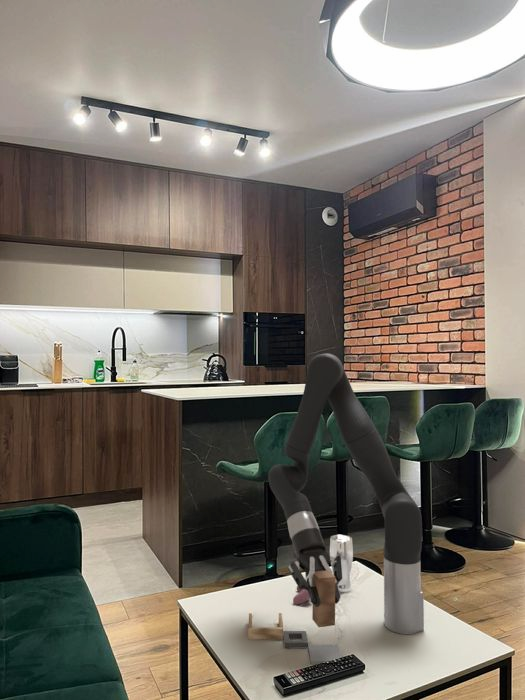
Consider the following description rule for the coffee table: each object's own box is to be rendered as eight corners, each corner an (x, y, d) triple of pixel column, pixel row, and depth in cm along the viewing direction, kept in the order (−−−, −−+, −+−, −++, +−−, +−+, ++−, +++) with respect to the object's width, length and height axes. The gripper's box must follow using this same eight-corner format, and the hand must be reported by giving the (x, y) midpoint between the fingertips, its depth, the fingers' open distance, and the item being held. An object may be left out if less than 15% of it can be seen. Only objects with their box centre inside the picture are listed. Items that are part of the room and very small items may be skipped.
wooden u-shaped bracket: (281, 622, 134) (281, 613, 135) (283, 639, 126) (283, 628, 126) (248, 623, 134) (248, 613, 134) (248, 639, 126) (248, 629, 126)
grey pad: (337, 647, 123) (337, 644, 123) (342, 663, 116) (342, 661, 116) (308, 647, 123) (308, 644, 123) (311, 664, 116) (311, 661, 116)
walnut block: (328, 617, 122) (328, 570, 122) (335, 625, 118) (335, 576, 119) (312, 619, 121) (312, 571, 121) (318, 627, 117) (319, 578, 117)
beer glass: (356, 586, 157) (356, 537, 157) (347, 595, 151) (347, 543, 152) (335, 581, 161) (335, 533, 161) (326, 589, 155) (325, 539, 155)
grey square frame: (305, 635, 128) (305, 630, 128) (308, 647, 122) (308, 642, 122) (283, 635, 128) (283, 631, 128) (284, 648, 122) (284, 642, 122)
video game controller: (305, 611, 144) (316, 590, 144) (291, 603, 145) (302, 581, 145) (309, 596, 154) (319, 576, 153) (295, 588, 155) (306, 568, 154)
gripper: (283, 529, 125) (304, 601, 113) (335, 524, 130) (360, 592, 118) (275, 544, 129) (294, 615, 118) (325, 538, 135) (348, 605, 123)
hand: (327, 603), depth 118 cm, fingers closed on walnut block, 4 cm apart
